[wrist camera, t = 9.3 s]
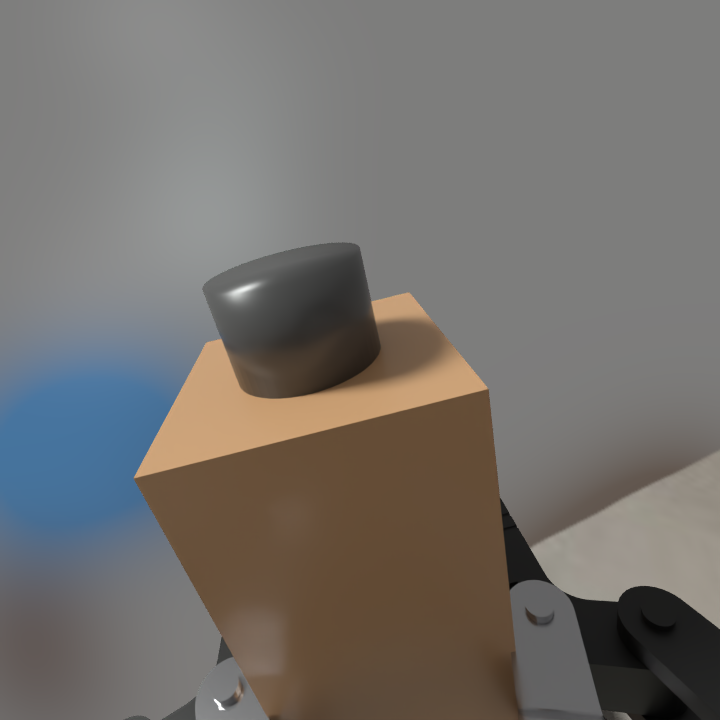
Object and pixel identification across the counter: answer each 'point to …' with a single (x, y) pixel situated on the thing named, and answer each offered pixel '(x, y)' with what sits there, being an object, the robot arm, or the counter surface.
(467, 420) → the plug
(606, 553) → the counter surface
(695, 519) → the counter surface
